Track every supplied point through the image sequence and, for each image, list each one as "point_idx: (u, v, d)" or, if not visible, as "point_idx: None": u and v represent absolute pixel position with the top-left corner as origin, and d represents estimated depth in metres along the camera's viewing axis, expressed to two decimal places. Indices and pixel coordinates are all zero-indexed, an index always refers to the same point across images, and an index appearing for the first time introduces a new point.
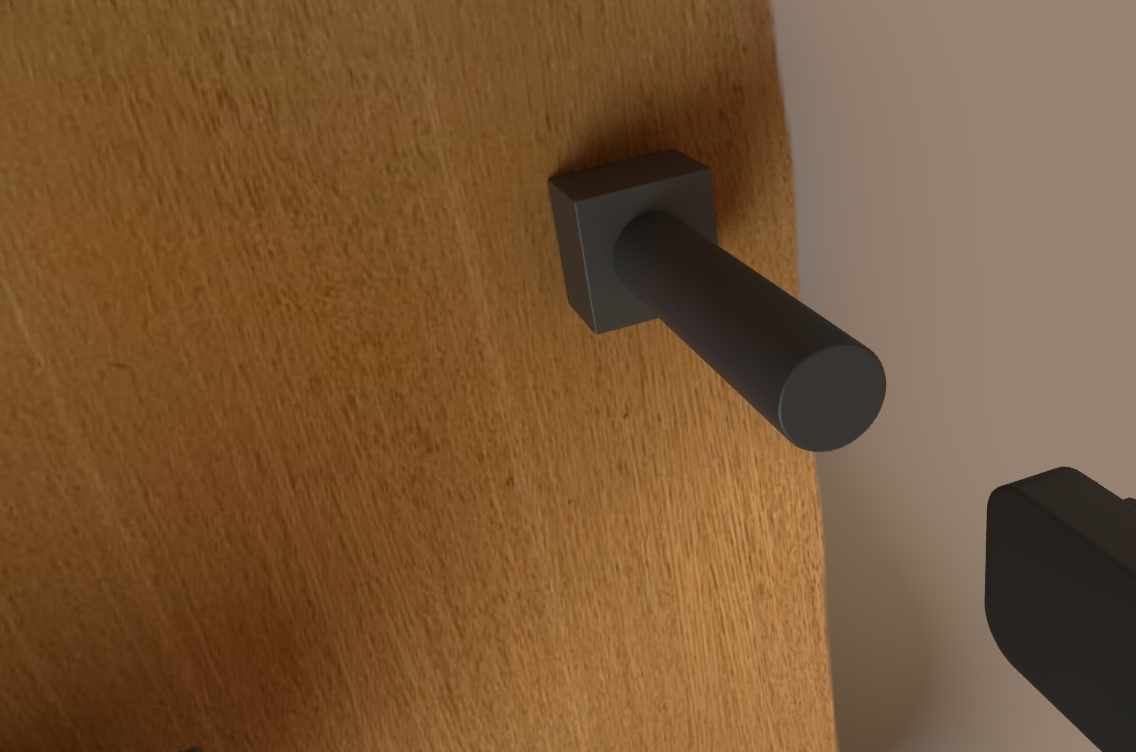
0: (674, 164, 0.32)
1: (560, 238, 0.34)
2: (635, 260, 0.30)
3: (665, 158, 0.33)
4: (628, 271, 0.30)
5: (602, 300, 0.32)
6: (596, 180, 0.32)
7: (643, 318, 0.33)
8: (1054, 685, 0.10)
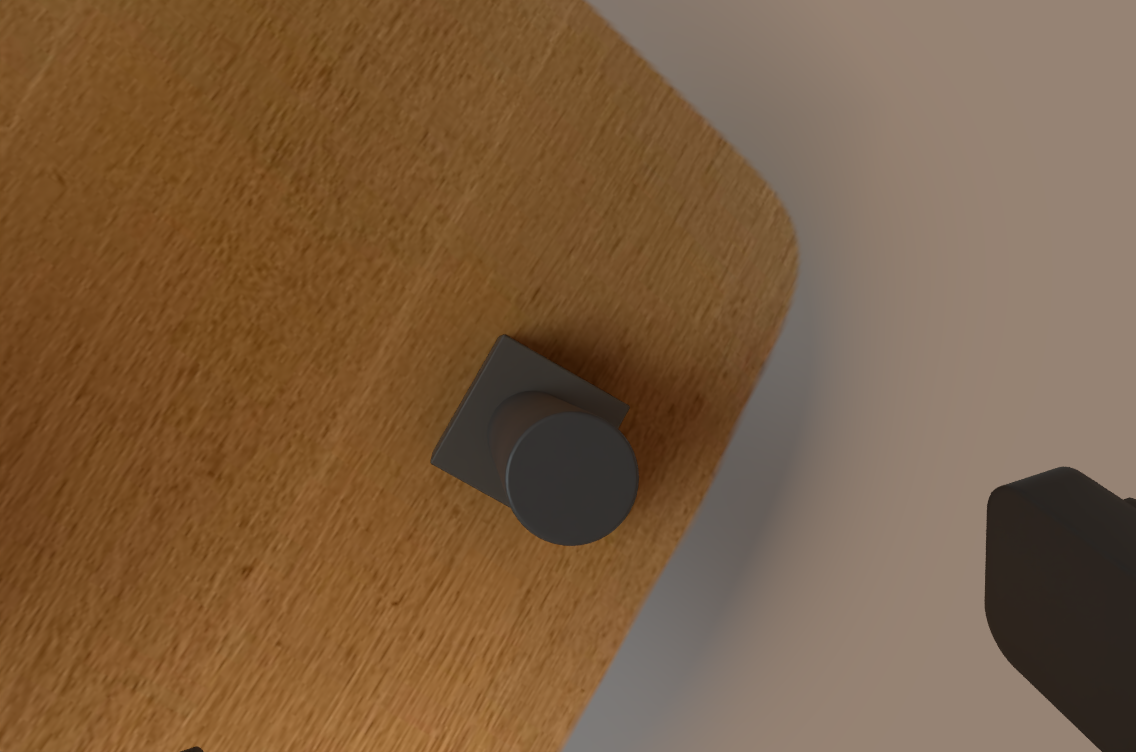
0: None
1: (470, 386, 0.33)
2: (511, 400, 0.29)
3: None
4: (499, 410, 0.29)
5: (459, 437, 0.31)
6: None
7: (479, 484, 0.31)
8: (1055, 686, 0.10)
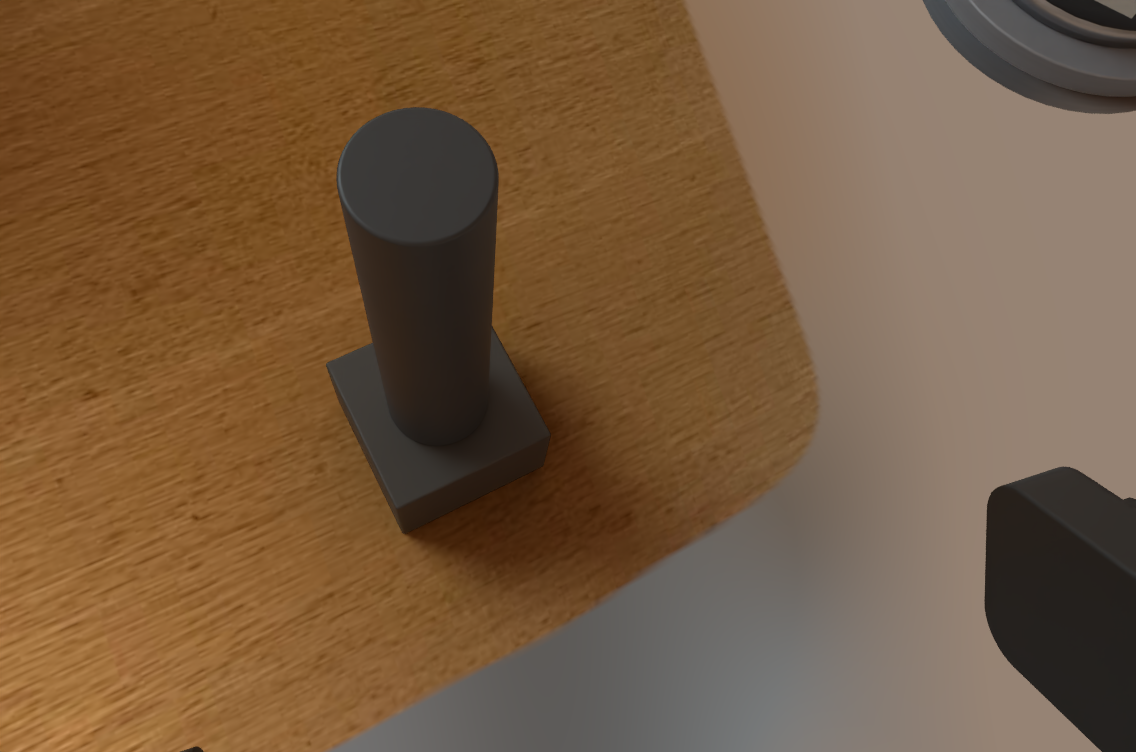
0: None
1: None
2: None
3: None
4: None
5: (370, 358, 0.27)
6: None
7: (356, 412, 0.27)
8: (1055, 685, 0.10)
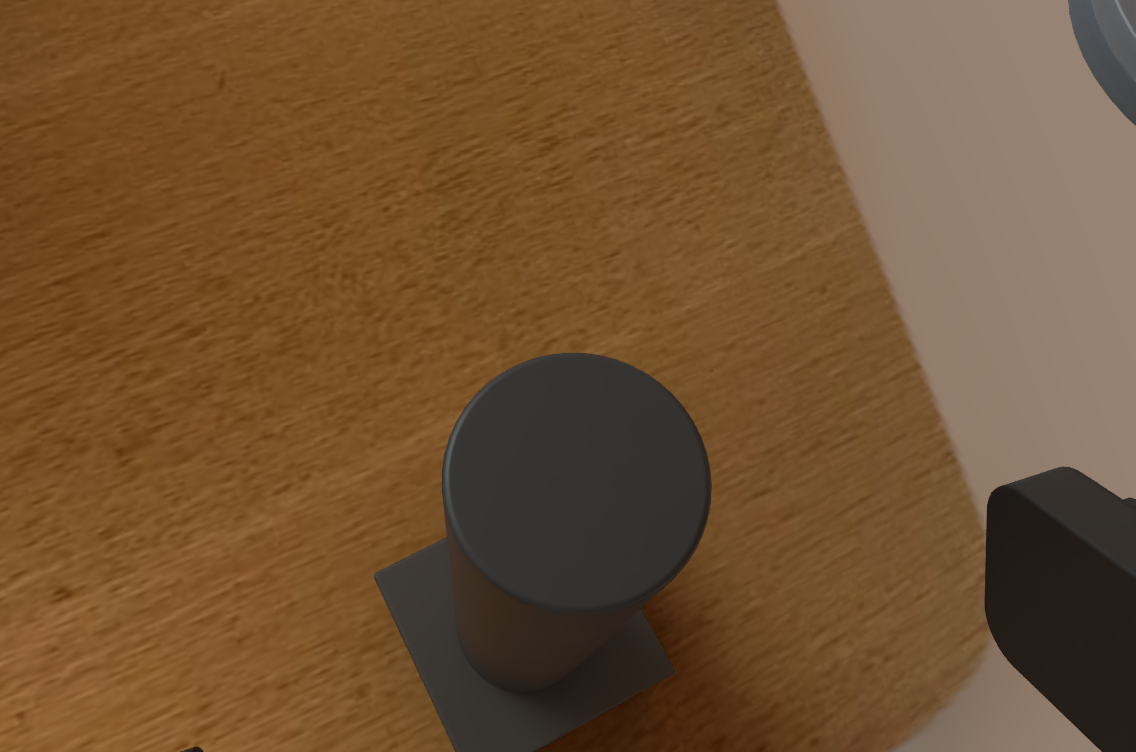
0: None
1: None
2: None
3: None
4: None
5: (432, 566, 0.20)
6: None
7: (415, 645, 0.20)
8: (1055, 686, 0.10)
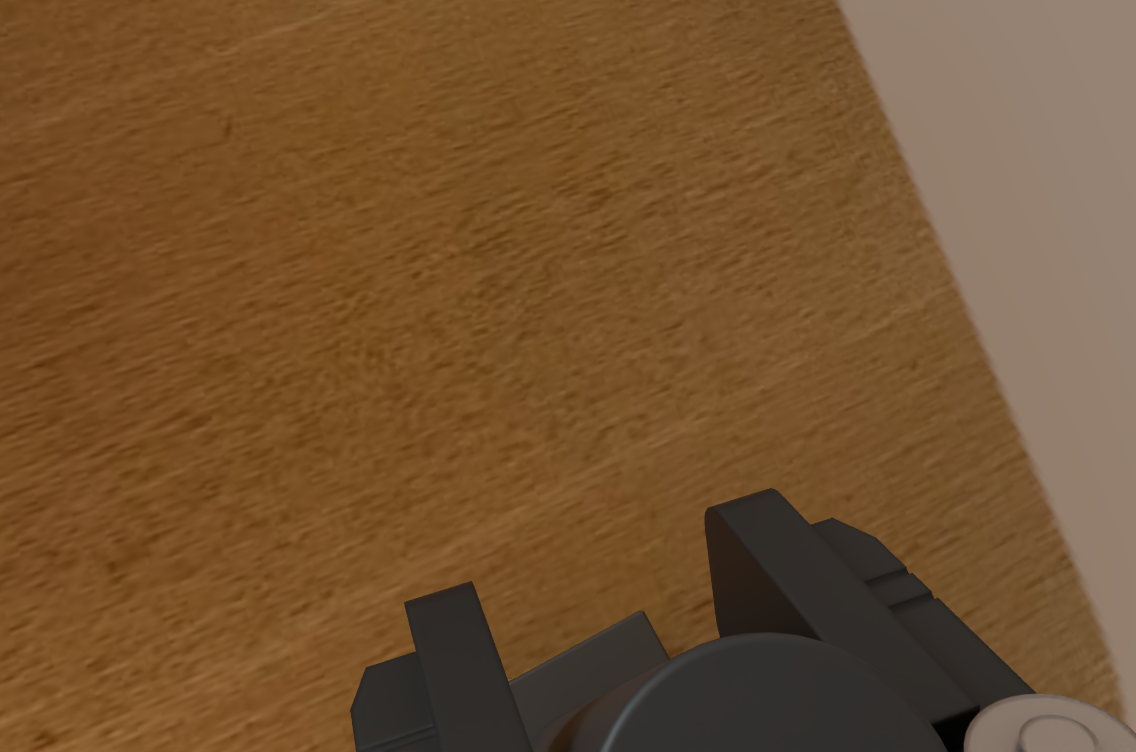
0: None
1: None
2: None
3: None
4: None
5: None
6: None
7: None
8: None
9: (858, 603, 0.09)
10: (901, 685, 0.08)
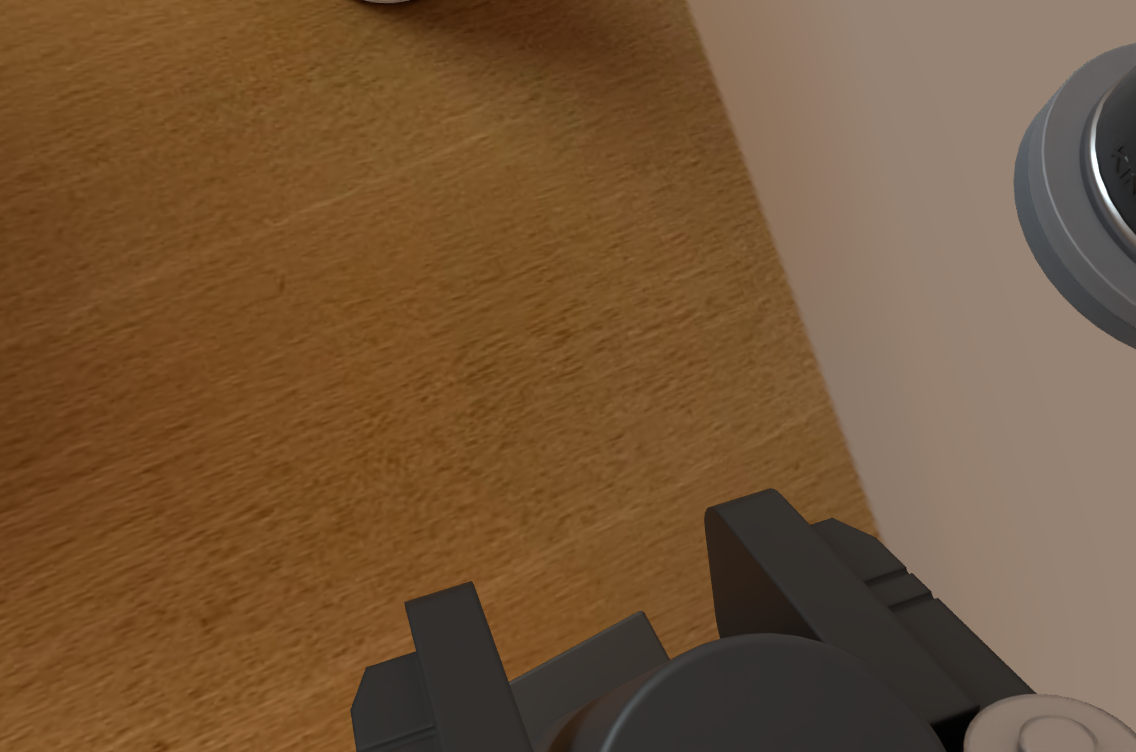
0: None
1: None
2: None
3: None
4: None
5: None
6: None
7: None
8: None
9: (858, 603, 0.09)
10: (901, 685, 0.08)
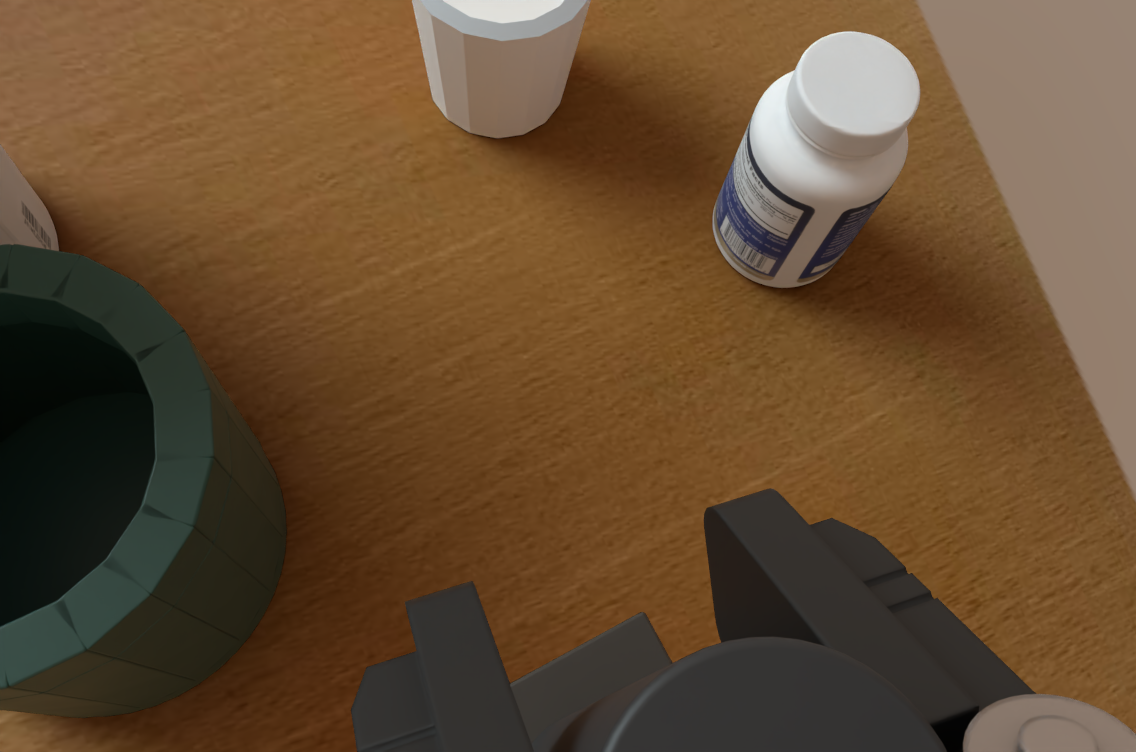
0: None
1: None
2: None
3: None
4: None
5: None
6: None
7: None
8: None
9: (858, 603, 0.09)
10: (900, 685, 0.08)
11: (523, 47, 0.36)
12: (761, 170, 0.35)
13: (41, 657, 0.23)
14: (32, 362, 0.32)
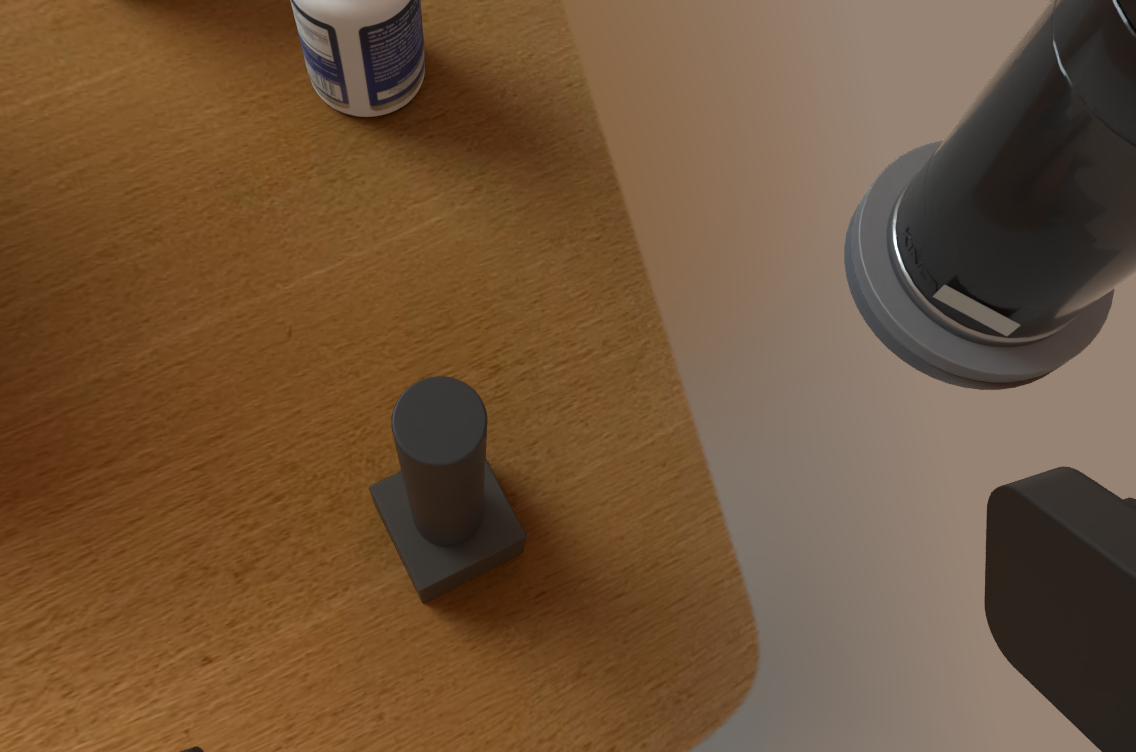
0: None
1: None
2: None
3: None
4: None
5: (399, 482, 0.39)
6: None
7: (390, 522, 0.38)
8: (1054, 685, 0.10)
9: None
10: None
11: None
12: None
13: None
14: None
